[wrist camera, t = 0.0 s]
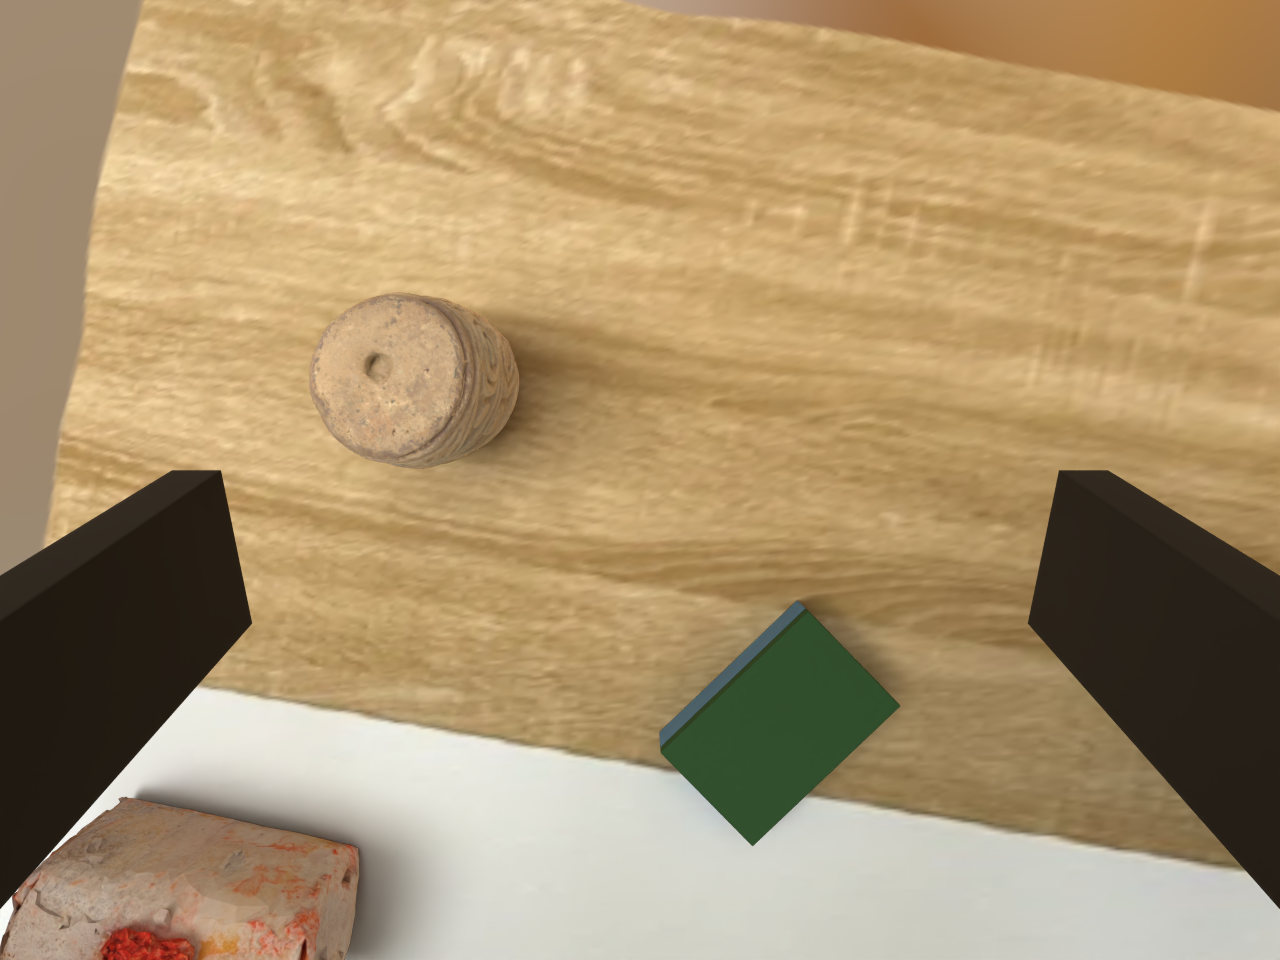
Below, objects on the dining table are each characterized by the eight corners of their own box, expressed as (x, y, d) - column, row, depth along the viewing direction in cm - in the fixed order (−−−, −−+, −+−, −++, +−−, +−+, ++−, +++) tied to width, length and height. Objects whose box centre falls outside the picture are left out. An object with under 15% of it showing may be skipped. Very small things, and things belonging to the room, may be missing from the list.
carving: (379, 441, 40) (268, 436, 28) (428, 303, 40) (337, 239, 28) (494, 483, 40) (433, 497, 28) (544, 346, 40) (503, 301, 28)
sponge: (745, 819, 41) (752, 846, 38) (658, 732, 41) (660, 752, 38) (883, 688, 41) (901, 706, 38) (797, 600, 40) (808, 610, 38)
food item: (386, 829, 41) (305, 949, 31) (355, 974, 41) (266, 1138, 31) (131, 774, 41) (-30, 877, 31) (102, 920, 41) (-67, 1067, 31)
